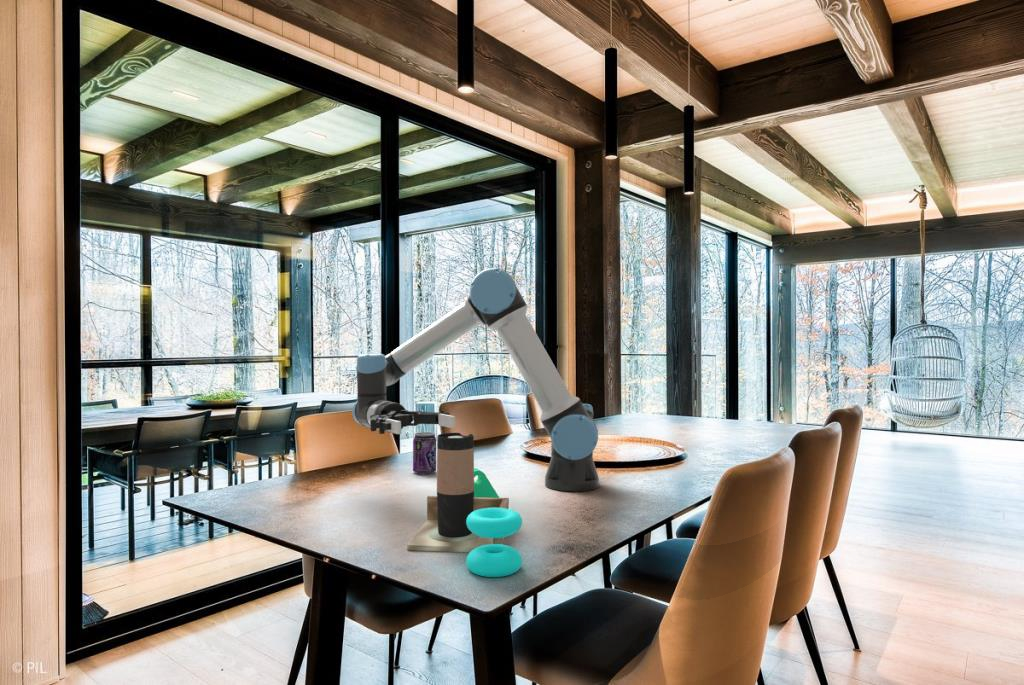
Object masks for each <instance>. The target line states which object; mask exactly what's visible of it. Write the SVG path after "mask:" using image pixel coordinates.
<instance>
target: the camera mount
mask: <svg viewBox="0 0 1024 685" xmlns="http://www.w3.org/2000/svg"><path fill="white" fill-rule="evenodd" d="M475 477H477V479H476V480H474V497H486V498H500V496H499V494H498V493H497V492H496V490H495V488H494V487H493V485H492V483H491V482H490V480H489V479H488V477H487V475H486V473H485V472H483V471H482V470H480V469H478V468H476V467H474V478H475Z"/></svg>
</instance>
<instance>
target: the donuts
mask: <svg viewBox="0 0 1024 685" xmlns="http://www.w3.org/2000/svg"><path fill="white" fill-rule="evenodd" d="M466 524H467V527H468V529H469V530H470V531H471V532H472V533H474V534H476V535H478V536H481V537H485V538H502V537H505V538H506V537H510V536H512V535H515V534H516V533H517V532H519V530H520V529H521V528H522V526H523V517H522V516H521V514H520V513H519V512H517V510H516V511H515V510H514V509H511V508H509V509H507V508H495V507H493V508H483V509H478V510H475V511H473V512H471V513H470V514H469V515H468V517H467V520H466ZM465 564H466V566H467V569H468V570H469V571H470V572H471V573H473V574H475V575H477V576H480V577H486V578H500V577H501V578H502V577H507V576H510V575H514V573H516V572H519V569H521V567H522V566H523V557H522V555H521V553H520V552H519V551H518V550H517V549H516V548H514V547H512V546H510V545H508V544H507V545H506V544H504V543H503V544H487V545H482V546H479V547H477V548H475V549H473V550H472V551H471V552H468V554H467V557H466V560H465Z"/></svg>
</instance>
